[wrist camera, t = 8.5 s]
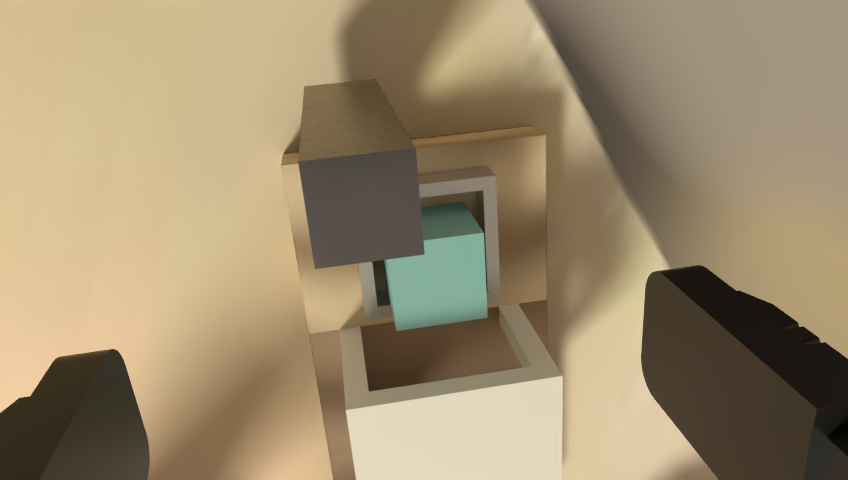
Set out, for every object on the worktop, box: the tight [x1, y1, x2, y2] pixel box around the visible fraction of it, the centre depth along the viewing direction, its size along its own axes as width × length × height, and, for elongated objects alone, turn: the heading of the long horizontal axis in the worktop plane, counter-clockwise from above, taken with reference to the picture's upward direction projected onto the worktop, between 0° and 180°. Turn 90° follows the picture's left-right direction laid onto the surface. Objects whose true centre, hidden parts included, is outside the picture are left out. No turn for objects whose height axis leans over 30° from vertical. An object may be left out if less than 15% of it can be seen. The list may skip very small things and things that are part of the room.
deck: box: [281, 126, 547, 480], centre depth 35 cm, size 22×12×2 cm, turn 4°
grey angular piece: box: [298, 79, 501, 320], centre depth 24 cm, size 11×8×12 cm
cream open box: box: [340, 304, 563, 480], centre depth 31 cm, size 7×9×6 cm
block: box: [384, 202, 488, 331], centre depth 29 cm, size 4×4×4 cm
